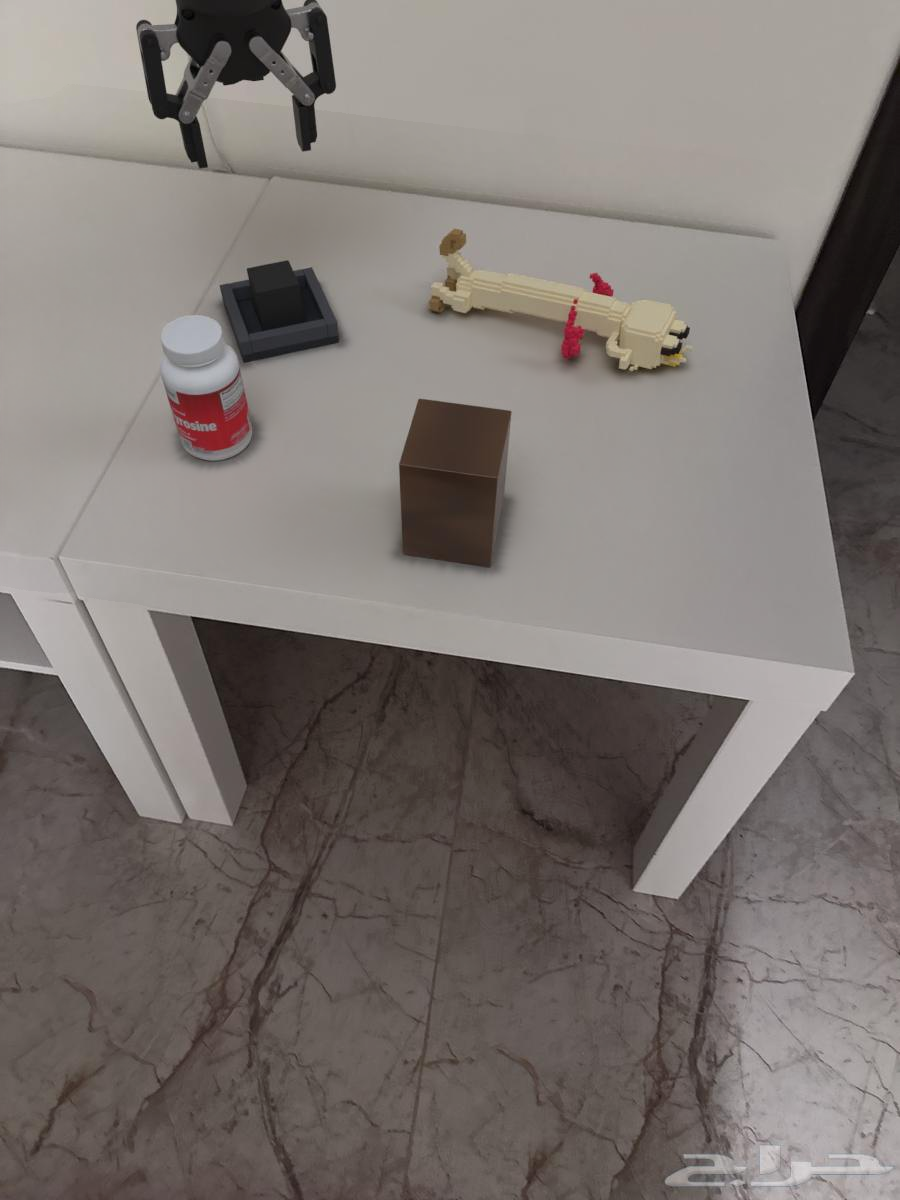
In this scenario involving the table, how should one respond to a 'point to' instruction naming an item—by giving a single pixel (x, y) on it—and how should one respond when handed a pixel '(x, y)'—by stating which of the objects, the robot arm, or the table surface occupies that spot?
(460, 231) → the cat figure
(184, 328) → the pill bottle
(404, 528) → the riser
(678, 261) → the table surface
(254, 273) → the black block
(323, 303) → the dark open tray
